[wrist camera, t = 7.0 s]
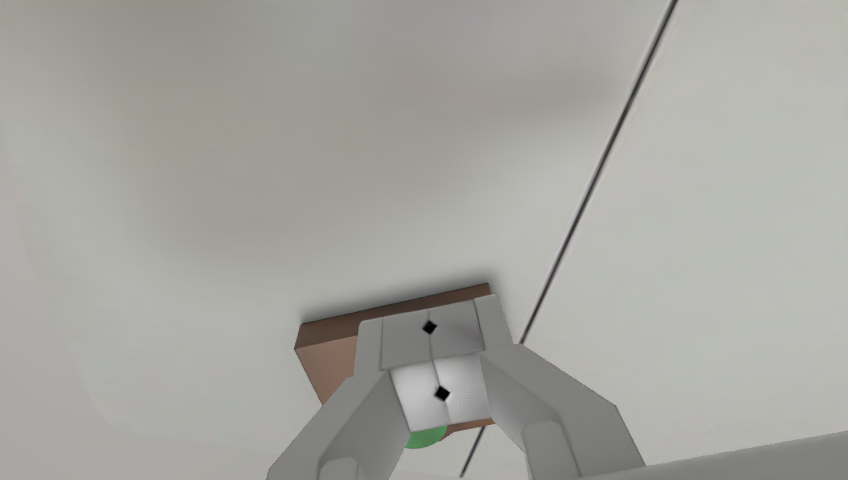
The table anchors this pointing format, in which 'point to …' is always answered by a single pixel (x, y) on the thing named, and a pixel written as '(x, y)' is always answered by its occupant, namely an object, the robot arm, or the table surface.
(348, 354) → the switch block
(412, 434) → the lamp button
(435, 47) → the table surface
